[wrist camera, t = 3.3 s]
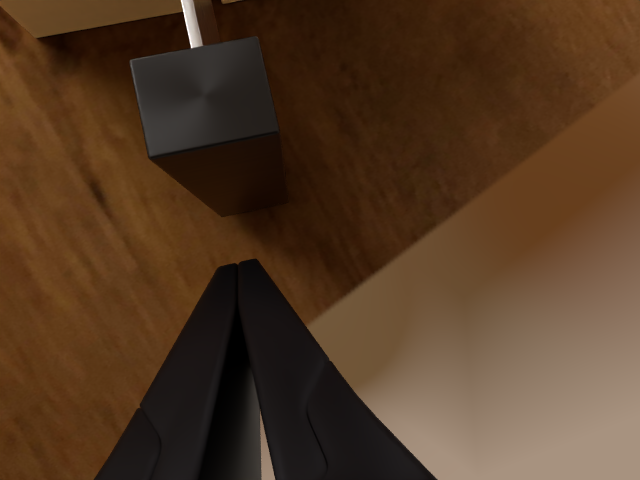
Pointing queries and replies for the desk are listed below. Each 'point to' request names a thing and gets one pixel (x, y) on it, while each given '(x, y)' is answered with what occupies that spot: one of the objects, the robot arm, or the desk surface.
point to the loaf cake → (84, 13)
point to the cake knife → (213, 117)
